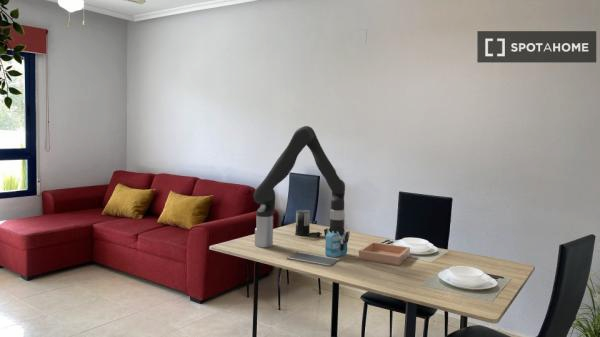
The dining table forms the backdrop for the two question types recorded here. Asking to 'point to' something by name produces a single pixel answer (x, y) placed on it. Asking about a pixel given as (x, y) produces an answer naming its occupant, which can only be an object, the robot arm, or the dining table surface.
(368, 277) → the dining table surface
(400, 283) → the dining table surface
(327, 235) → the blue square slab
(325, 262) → the mat
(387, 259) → the planter saucer
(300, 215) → the milk frother
